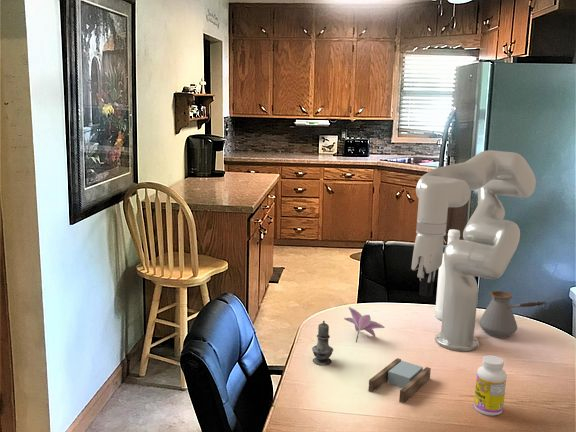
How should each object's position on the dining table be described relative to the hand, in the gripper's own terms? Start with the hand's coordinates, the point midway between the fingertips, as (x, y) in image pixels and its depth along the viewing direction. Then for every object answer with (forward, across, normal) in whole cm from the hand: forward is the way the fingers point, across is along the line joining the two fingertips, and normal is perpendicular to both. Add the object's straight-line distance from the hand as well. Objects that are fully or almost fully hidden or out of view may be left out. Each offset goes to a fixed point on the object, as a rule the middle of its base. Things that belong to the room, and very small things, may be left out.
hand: (425, 295), depth 160 cm
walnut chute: (+21, +13, 0) cm, 24 cm away
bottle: (+21, -40, -8) cm, 46 cm away
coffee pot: (+21, -36, +14) cm, 44 cm away
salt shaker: (+21, +14, -23) cm, 34 cm away
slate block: (+21, +10, 0) cm, 23 cm away
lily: (+21, -8, -22) cm, 31 cm away
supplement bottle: (+21, +11, +22) cm, 32 cm away
